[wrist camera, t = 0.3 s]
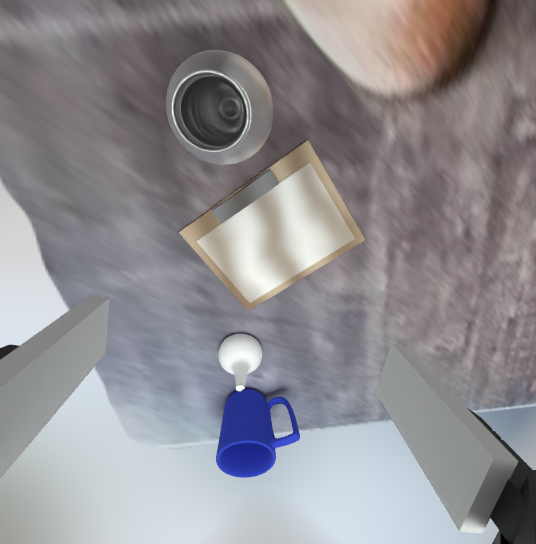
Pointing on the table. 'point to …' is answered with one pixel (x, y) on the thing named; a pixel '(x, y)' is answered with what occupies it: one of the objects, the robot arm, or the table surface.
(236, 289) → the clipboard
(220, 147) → the plastic bottle
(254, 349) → the garlic bulb
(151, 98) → the table surface
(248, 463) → the mug
